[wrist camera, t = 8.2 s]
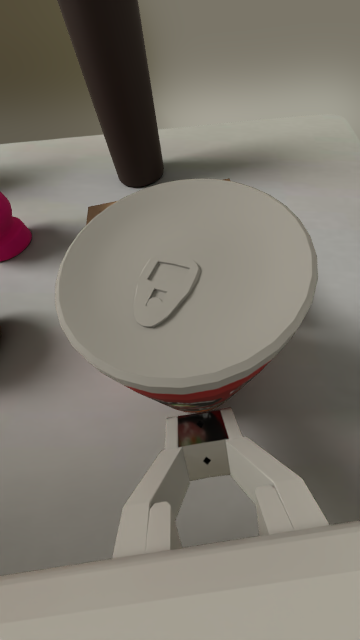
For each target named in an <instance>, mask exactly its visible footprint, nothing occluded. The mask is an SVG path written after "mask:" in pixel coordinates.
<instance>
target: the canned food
mask: <svg viewBox="0 0 360 640" xmlns="http://www.w3.org/2000/svg"><path fill="white" fill-rule="evenodd" d="M317 280H318V271H317V255H316V252H315V249H314V246H313V243H312V240H311V237H310V235H309V234H308V232H307V230H306V229H305V227H304V226H303V224H302V222H301V221H300V219H299V218H298V217H297V216H296V215H295V214H294V213H293V212H292V211H291V210H290V209H289V208H288V207H287V206H285V205H284V204H283V203H281V202H280V201H278V200H277V199H275V198H274V197H272V196H271V195H269V194H267V193H264V192H262V191H260V190H258V189H256V188H253V187H250V186H247V185H243V184H240V183H237V182H232V181H225V180H219V179H186V180H177V181H172V182H167V183H162V184H158V185H155V186H151V187H148V188H145V189H142V190H140V191H137V192H135V193H133V194H131V195H128V196H126V197H124V198H122V199H121V200H119V201H117V202H116V203H114V204H112V205H110V206H109V207H107V208H106V209H105V210H103V211H102V212H101V213H100V214H98V215H97V216H96V217H94V218H93V219H92V220H91V221H90V222H89V223H88V224H87V225H86V226H85V227H84V228H83V229H82V230H81V231H80V232H79V234H78V235H77V237H76V238H75V239H74V241H73V242H72V244H71V245H70V246H69V248H68V250H67V252H66V254H65V256H64V258H63V260H62V262H61V265H60V268H59V272H58V276H57V280H56V284H55V307H56V311H57V314H58V318H59V322H60V326H61V328H62V329H63V331H64V333H65V335H66V336H67V338H68V340H69V341H70V343H71V345H72V346H73V347H74V348H75V349H76V350H77V351H78V352H79V353H80V354H81V355H82V356H83V357H84V358H85V359H86V360H87V361H88V362H89V363H90V364H92V365H93V366H94V367H95V368H97V369H98V370H99V371H100V372H101V373H103V374H105V375H106V376H108V377H110V378H112V379H114V380H115V381H117V382H119V383H121V384H122V385H124V386H126V387H128V388H130V389H132V390H134V391H135V392H137V393H140V394H142V395H144V396H146V397H149V398H151V399H153V400H156V401H158V402H160V403H162V404H165V405H167V406H169V407H172V408H174V409H177V410H180V411H184V412H196V413H197V412H203V411H208V410H211V409H213V408H215V407H218V406H220V405H221V404H222V403H224V402H225V401H227V400H228V399H229V398H230V397H232V396H233V395H234V394H235V393H236V392H237V391H238V390H240V389H241V388H242V387H243V386H244V385H245V384H247V383H248V382H249V381H250V380H251V379H252V378H253V377H255V376H256V375H257V374H258V373H259V372H260V371H261V370H262V369H263V368H264V367H265V366H266V365H267V364H268V363H269V362H270V361H271V360H272V359H273V358H274V357H275V356H276V355H277V354H278V353H279V351H280V350H281V349H282V348H283V347H284V346H285V345H286V344H287V343H288V342H289V341H290V339H291V338H292V337H293V335H294V333H295V331H296V330H297V329H298V327H299V326H300V324H301V322H302V321H303V319H304V317H305V315H306V313H307V311H308V309H309V308H310V306H311V304H312V301H313V297H314V293H315V289H316V284H317Z"/></svg>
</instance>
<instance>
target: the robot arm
mask: <svg viewBox="0 0 360 640" xmlns="http://www.w3.org/2000/svg"><path fill="white" fill-rule="evenodd" d="M224 475H231V476H232V478H233V479H234V480H235V481H236V482H237V484H238V485H239V486H240V487H241V488H242V490H243V491H244V492H245V493H246V494H247V495H248V497H249V498H250V499H251V500H252V501H253V503H254V504H255V505H256V508H257V518H258V528H259V536H255V537H249V538H242V539H236V540H229V541H223V542H216V543H210V544H204V545H197V546H191V547H184V548H182V544H181V541H180V537H179V534H178V530H177V527H176V523H175V520H176V518H177V515H178V512H179V510H180V507H181V505H182V502H183V500H184V497H185V494H186V492H187V489H188V487H189V484H190V481H193V480H198V479H204V478H209V477H216V476H224ZM0 640H360V520H359V521H352V522H346V523H340V524H333V525H329V523H328V521H327V520H326V518H325V516H324V515H323V513H322V511H321V509H320V508H319V506H318V504H317V503H316V501H315V499H314V498H313V496H312V494H311V493H310V491H309V489H308V487H307V486H306V484H305V482H304V481H303V479H302V478H301V477H299V476H298V475H297V474H295V473H294V472H293V471H291V470H290V469H289V468H287V467H286V466H285V465H284V464H282V463H281V462H280V461H278V460H277V459H276V458H274V457H273V456H272V455H270V454H269V453H268V452H266V451H265V450H264V449H262V448H261V447H260V446H258V445H257V444H256V443H254V442H253V441H252V440H250V439H249V438H248V437H243V436H242V433H241V431H240V428H239V426H238V423H237V421H236V418H235V416H234V413H233V411H232V408H231V407H229V408H224V409H220V410H214V411H208V412H203V413H197V414H190V415H183V416H178V417H171V418H167V420H166V435H165V450H162V451H161V452H160V453H159V455H158V456H157V458H156V459H155V461H154V462H153V464H152V465H151V467H150V468H149V470H148V471H147V472H146V474H145V475H144V477H143V478H142V480H141V481H140V483H139V484H138V486H137V487H136V489H135V490H134V492H133V493H132V494H131V496H130V497H129V499H128V500H127V502H126V503H125V505H124V506H123V509H122V514H121V519H120V523H119V528H118V533H117V537H116V542H115V547H114V551H113V556H112V559H107V560H100V561H94V562H87V563H81V564H74V565H68V566H61V567H55V568H48V569H42V570H35V571H29V572H23V573H16V574H9V575H3V576H0Z"/></svg>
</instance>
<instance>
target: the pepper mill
mask: <svg viewBox="0 0 360 640" xmlns="http://www.w3.org/2000/svg"><path fill="white" fill-rule="evenodd" d="M31 238H32V235H31V232H30V230H29V229H28V228H27V227H26V226H25V225H24V223H23V222H22V221H21V220H20V219H18V218H16V217H12V209H11V205H10V203H9V201H8V199H7V198H6V197H5V196H4V195H3V194H2V193H1V192H0V262H1V261H5V260H8V259H11V258H13V257H15V256H16V255H18V254H20V253H21V252H22V251H23V250H24V249H25V248H26V247H27V246H28V245H29V243H30V241H31Z"/></svg>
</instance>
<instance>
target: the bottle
mask: <svg viewBox="0 0 360 640" xmlns="http://www.w3.org/2000/svg"><path fill="white" fill-rule="evenodd" d="M57 1H58V3H59V6H60V9H61V12H62V15H63V18H64V21H65V24H66V27H67V30H68V32H69V35H70V38H71V41H72V44H73V47H74V50H75V53H76V56H77V58H78V61H79V64H80V67H81V70H82V73H83V76H84V79H85V81H86V84H87V87H88V90H89V93H90V96H91V99H92V102H93V105H94V108H95V111H96V113H97V116H98V119H99V122H100V125H101V128H102V131H103V134H104V137H105V139H106V142H107V145H108V148H109V151H110V154H111V157H112V160H113V163H114V166H115V168H116V171H117V174H118V177H119V180H120V181H121V182H122V183H123V184H125V185H127V186H130V187H142V186H146V185H149V184H152V183H154V182H155V181H157V180H158V179H159V178H160V177H161V176H162V174H163V170H164V167H163V160H162V154H161V147H160V141H159V135H158V128H157V122H156V116H155V109H154V103H153V96H152V90H151V83H150V77H149V71H148V64H147V58H146V51H145V45H144V38H143V32H142V26H141V19H140V13H139V7H138V1H137V0H57Z"/></svg>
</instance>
